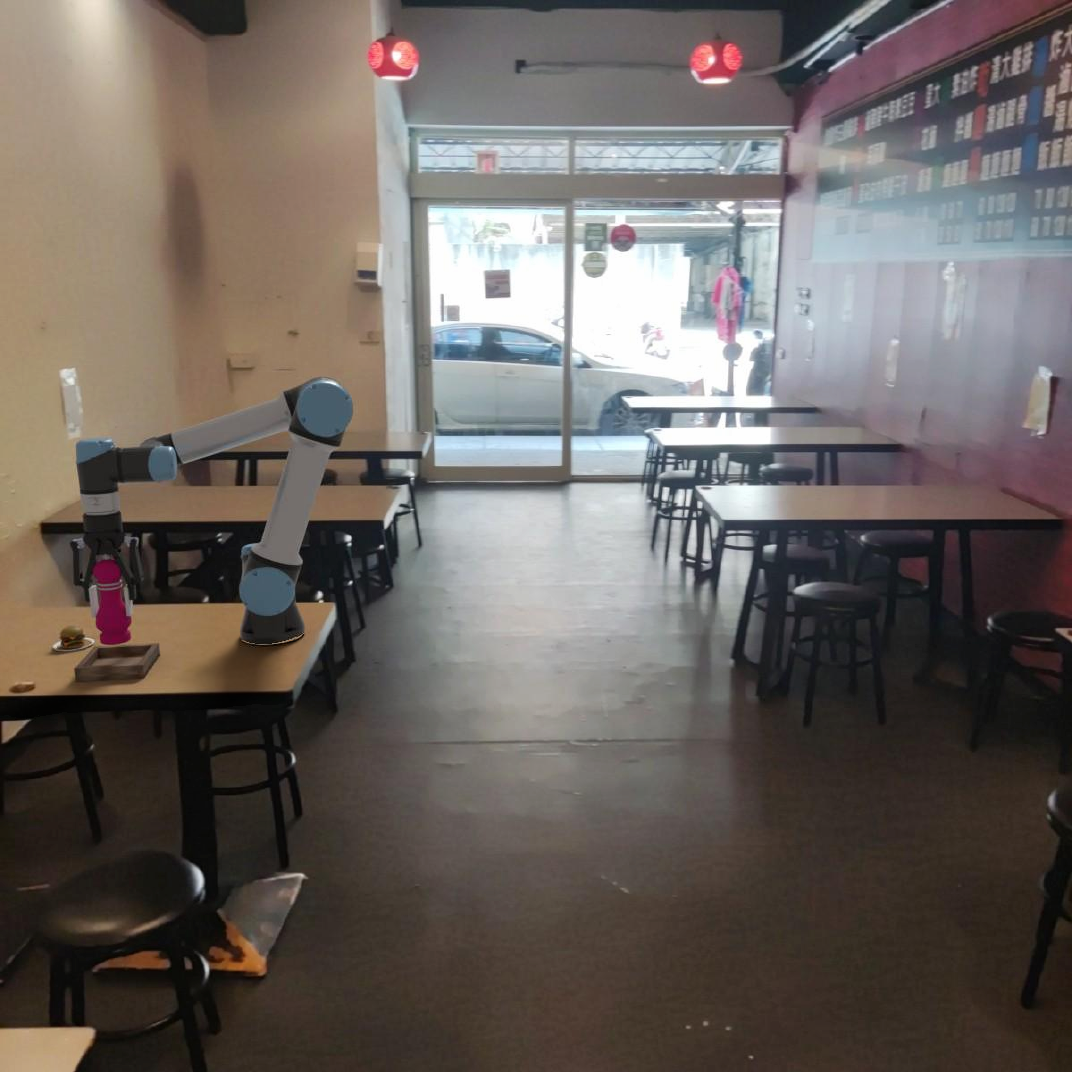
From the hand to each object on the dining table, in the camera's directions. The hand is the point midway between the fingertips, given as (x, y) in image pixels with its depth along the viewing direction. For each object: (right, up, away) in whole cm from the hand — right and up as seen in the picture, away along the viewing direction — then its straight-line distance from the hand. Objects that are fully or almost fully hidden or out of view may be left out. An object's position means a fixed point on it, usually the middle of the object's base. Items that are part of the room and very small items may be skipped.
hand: (112, 614), depth 208 cm
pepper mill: (0, -6, +1) cm, 6 cm away
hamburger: (-17, -10, +18) cm, 26 cm away
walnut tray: (0, -12, +3) cm, 12 cm away
